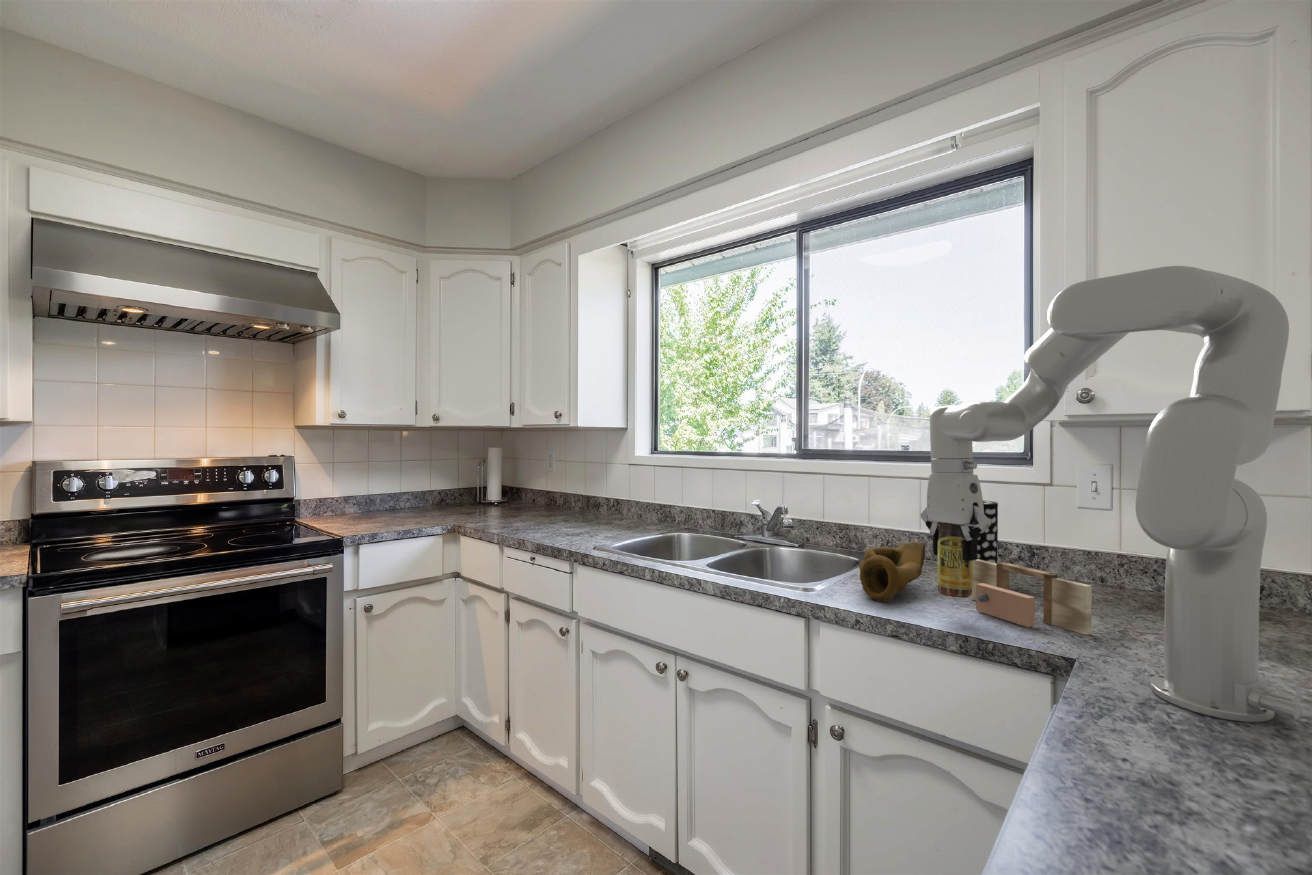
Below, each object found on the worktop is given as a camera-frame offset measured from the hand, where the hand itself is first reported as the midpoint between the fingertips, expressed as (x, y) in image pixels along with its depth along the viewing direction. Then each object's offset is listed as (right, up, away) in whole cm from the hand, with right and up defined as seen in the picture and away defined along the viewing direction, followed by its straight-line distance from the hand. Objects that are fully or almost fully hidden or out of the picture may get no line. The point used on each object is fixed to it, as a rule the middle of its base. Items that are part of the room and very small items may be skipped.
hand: (954, 556), depth 116 cm
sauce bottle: (0, -8, 0) cm, 8 cm away
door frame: (+16, -12, +2) cm, 20 cm away
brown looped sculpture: (-4, -13, +22) cm, 26 cm away
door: (+10, -13, 0) cm, 16 cm away
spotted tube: (+19, -12, +27) cm, 35 cm away
